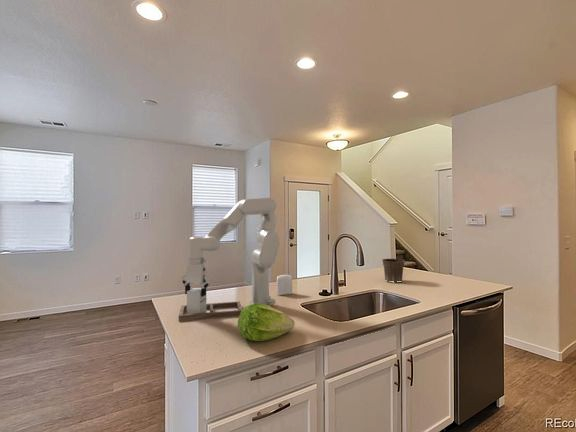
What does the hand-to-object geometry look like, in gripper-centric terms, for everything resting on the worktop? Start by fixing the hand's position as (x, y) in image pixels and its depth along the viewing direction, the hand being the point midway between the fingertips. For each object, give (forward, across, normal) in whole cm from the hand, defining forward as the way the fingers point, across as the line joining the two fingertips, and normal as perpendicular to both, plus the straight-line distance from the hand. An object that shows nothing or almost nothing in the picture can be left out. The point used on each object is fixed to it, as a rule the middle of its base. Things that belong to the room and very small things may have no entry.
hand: (195, 294), depth 150 cm
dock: (+10, -6, -5) cm, 13 cm away
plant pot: (+6, -94, -113) cm, 147 cm away
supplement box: (+10, -1, -1) cm, 10 cm away
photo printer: (+9, -30, -51) cm, 59 cm away
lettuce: (+10, -46, +12) cm, 48 cm away
